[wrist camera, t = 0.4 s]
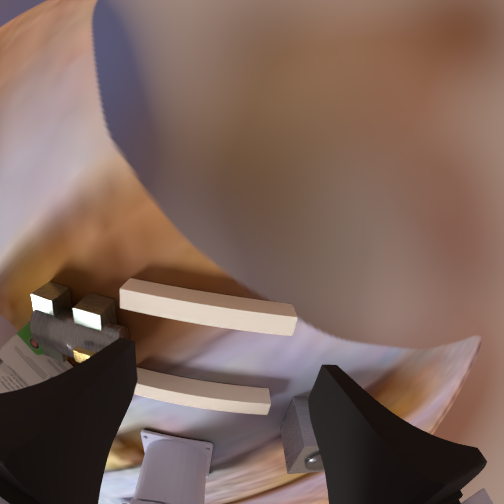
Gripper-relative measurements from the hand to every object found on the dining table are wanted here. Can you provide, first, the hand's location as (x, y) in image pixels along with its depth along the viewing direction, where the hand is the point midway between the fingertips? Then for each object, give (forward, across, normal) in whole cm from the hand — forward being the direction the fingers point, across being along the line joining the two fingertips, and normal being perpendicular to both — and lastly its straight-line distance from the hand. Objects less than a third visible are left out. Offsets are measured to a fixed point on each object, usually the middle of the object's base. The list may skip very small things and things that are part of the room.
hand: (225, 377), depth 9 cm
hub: (+10, -9, +13) cm, 19 cm away
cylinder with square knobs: (+10, +12, +6) cm, 16 cm away
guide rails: (+10, +2, +6) cm, 12 cm away
